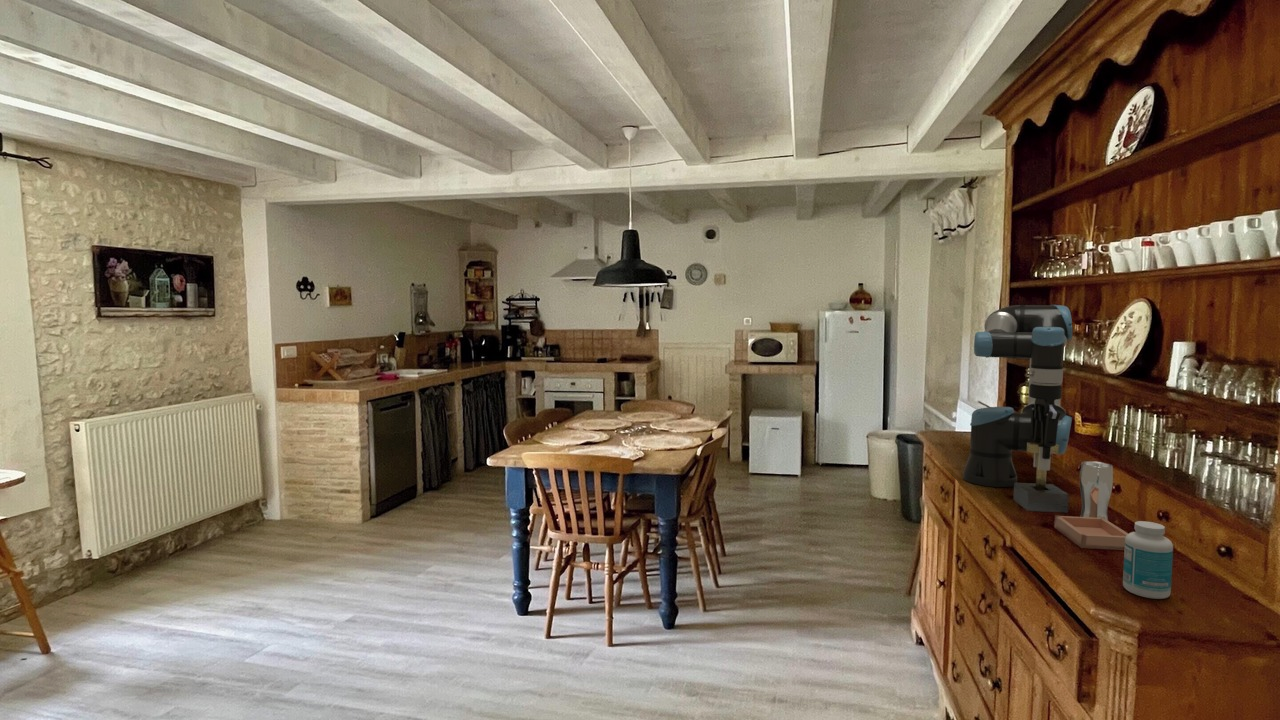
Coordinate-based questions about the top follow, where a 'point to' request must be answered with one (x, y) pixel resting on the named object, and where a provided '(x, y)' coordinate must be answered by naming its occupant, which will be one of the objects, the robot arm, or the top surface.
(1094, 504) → the beer glass
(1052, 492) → the grey square block
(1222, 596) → the top surface
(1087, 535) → the pale pink tray
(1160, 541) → the pill bottle
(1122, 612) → the top surface
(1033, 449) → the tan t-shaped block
